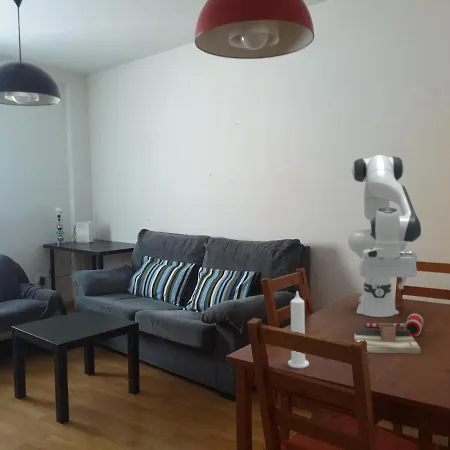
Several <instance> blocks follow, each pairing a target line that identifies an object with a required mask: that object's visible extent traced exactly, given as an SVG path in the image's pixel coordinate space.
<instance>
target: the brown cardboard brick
mask: <svg viewBox="0 0 450 450" xmlns="http://www.w3.org/2000/svg"><path fill="white" fill-rule="evenodd" d="M392 323H393V322H379V324H380V327H379V329H380V337H381V339H382V341H383V342H396V330H397V329H396V328H397V327H394V325H393V324H392Z"/></svg>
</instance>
